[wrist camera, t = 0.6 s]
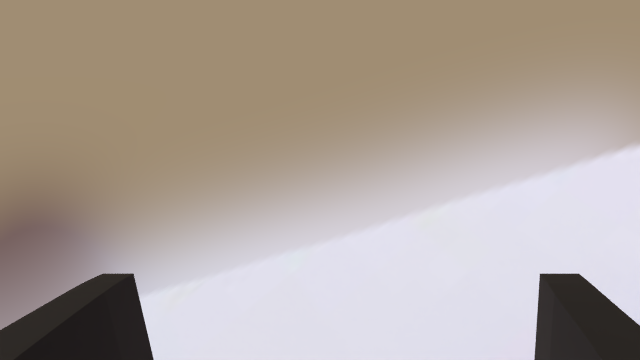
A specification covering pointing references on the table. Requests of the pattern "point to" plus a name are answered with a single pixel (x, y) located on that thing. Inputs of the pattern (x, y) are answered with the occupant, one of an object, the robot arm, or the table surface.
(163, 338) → the table surface
